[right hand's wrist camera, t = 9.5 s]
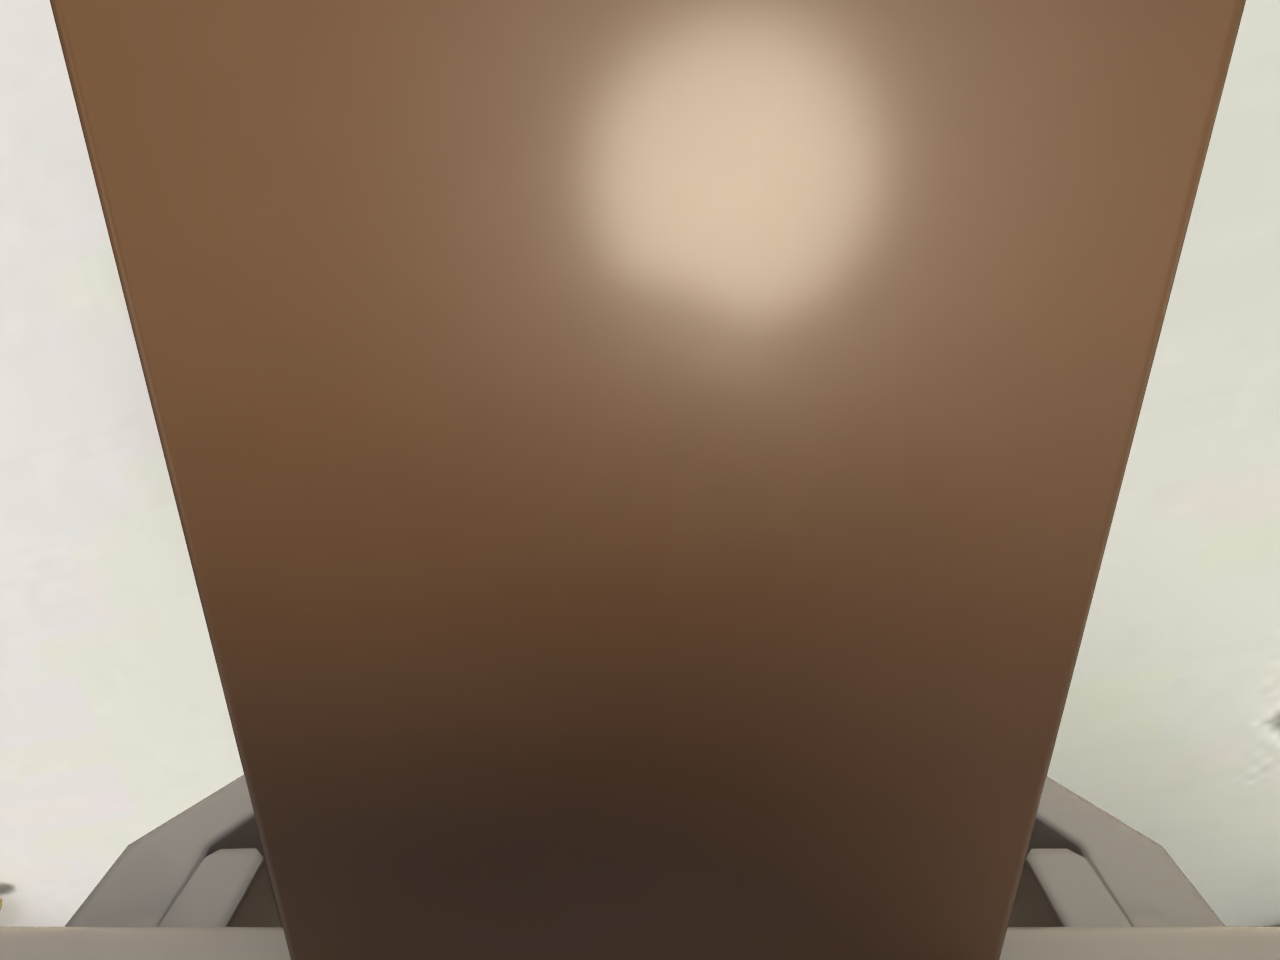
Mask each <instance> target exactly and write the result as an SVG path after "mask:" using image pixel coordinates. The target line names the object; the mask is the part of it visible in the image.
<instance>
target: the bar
mask: <svg viewBox="0 0 1280 960" xmlns="http://www.w3.org/2000/svg"><path fill="white" fill-rule="evenodd" d="M1245 2H1246V0H50V3H51V7H52V11H53V15H54V19H55V23H56V27H57V31H58V35H59V39H60V43H61V47H62V51H63V55H64V59H65V63H66V67H67V71H68V74H69V78H70V82H71V86H72V90H73V94H74V98H75V102H76V106H77V110H78V114H79V118H80V122H81V126H82V130H83V134H84V138H85V142H86V146H87V150H88V154H89V158H90V162H91V166H92V170H93V174H94V178H95V182H96V186H97V190H98V194H99V198H100V202H101V206H102V210H103V214H104V218H105V222H106V226H107V230H108V234H109V238H110V242H111V246H112V250H113V254H114V258H115V262H116V266H117V270H118V274H119V277H120V281H121V285H122V289H123V293H124V297H125V301H126V305H127V309H128V313H129V317H130V321H131V325H132V329H133V333H134V337H135V341H136V345H137V349H138V353H139V357H140V361H141V365H142V369H143V373H144V377H145V381H146V385H147V389H148V393H149V397H150V401H151V405H152V409H153V413H154V417H155V421H156V425H157V429H158V433H159V437H160V441H161V445H162V449H163V453H164V457H165V461H166V465H167V469H168V473H169V476H170V480H171V484H172V488H173V492H174V496H175V500H176V504H177V508H178V512H179V516H180V520H181V524H182V528H183V532H184V536H185V540H186V544H187V548H188V552H189V556H190V560H191V564H192V568H193V572H194V576H195V580H196V584H197V588H198V592H199V596H200V600H201V604H202V608H203V612H204V616H205V620H206V624H207V628H208V632H209V636H210V640H211V644H212V648H213V652H214V656H215V660H216V664H217V668H218V672H219V676H220V679H221V683H222V687H223V691H224V695H225V699H226V703H227V707H228V711H229V715H230V719H231V723H232V727H233V731H234V735H235V739H236V743H237V747H238V751H239V755H240V759H241V763H242V767H243V771H244V775H245V779H246V783H247V787H248V791H249V795H250V799H251V803H252V807H253V811H254V815H255V819H256V823H257V827H258V831H259V835H260V839H261V843H262V847H263V851H264V855H265V859H266V863H267V867H268V871H269V875H270V879H271V882H272V886H273V890H274V894H275V898H276V902H277V906H278V910H279V914H280V918H281V922H282V926H283V930H284V934H285V938H286V942H287V946H288V950H289V954H290V958H291V960H999V959H1000V955H1001V951H1002V947H1003V943H1004V940H1005V936H1006V932H1007V928H1008V924H1009V920H1010V916H1011V912H1012V908H1013V905H1014V901H1015V897H1016V893H1017V889H1018V885H1019V881H1020V877H1021V873H1022V870H1023V866H1024V862H1025V858H1026V854H1027V850H1028V846H1029V842H1030V838H1031V834H1032V831H1033V827H1034V823H1035V819H1036V815H1037V811H1038V807H1039V803H1040V799H1041V796H1042V792H1043V788H1044V784H1045V780H1046V776H1047V772H1048V768H1049V764H1050V761H1051V757H1052V753H1053V749H1054V745H1055V741H1056V737H1057V733H1058V729H1059V725H1060V722H1061V718H1062V714H1063V710H1064V706H1065V702H1066V698H1067V694H1068V690H1069V687H1070V683H1071V679H1072V675H1073V671H1074V667H1075V663H1076V659H1077V655H1078V652H1079V648H1080V644H1081V640H1082V636H1083V632H1084V628H1085V624H1086V620H1087V617H1088V613H1089V609H1090V605H1091V601H1092V597H1093V593H1094V589H1095V585H1096V581H1097V578H1098V574H1099V570H1100V566H1101V562H1102V558H1103V554H1104V550H1105V546H1106V543H1107V539H1108V535H1109V531H1110V527H1111V523H1112V519H1113V515H1114V511H1115V508H1116V504H1117V500H1118V496H1119V492H1120V488H1121V484H1122V480H1123V476H1124V472H1125V469H1126V465H1127V461H1128V457H1129V453H1130V449H1131V445H1132V441H1133V437H1134V434H1135V430H1136V426H1137V422H1138V418H1139V414H1140V410H1141V406H1142V402H1143V399H1144V395H1145V391H1146V387H1147V383H1148V379H1149V375H1150V371H1151V367H1152V364H1153V360H1154V356H1155V352H1156V348H1157V344H1158V340H1159V336H1160V332H1161V328H1162V325H1163V321H1164V317H1165V313H1166V309H1167V305H1168V301H1169V297H1170V293H1171V290H1172V286H1173V282H1174V278H1175V274H1176V270H1177V266H1178V262H1179V258H1180V255H1181V251H1182V247H1183V243H1184V239H1185V235H1186V231H1187V227H1188V223H1189V219H1190V216H1191V212H1192V208H1193V204H1194V200H1195V196H1196V192H1197V188H1198V184H1199V181H1200V177H1201V173H1202V169H1203V165H1204V161H1205V157H1206V153H1207V149H1208V146H1209V142H1210V138H1211V134H1212V130H1213V126H1214V122H1215V118H1216V114H1217V111H1218V107H1219V103H1220V99H1221V95H1222V91H1223V87H1224V83H1225V79H1226V75H1227V72H1228V68H1229V64H1230V60H1231V56H1232V52H1233V48H1234V44H1235V40H1236V37H1237V33H1238V29H1239V25H1240V21H1241V17H1242V13H1243V9H1244V5H1245Z"/></svg>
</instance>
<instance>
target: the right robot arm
mask: <svg viewBox="0 0 1280 960" xmlns="http://www.w3.org/2000/svg"><path fill="white" fill-rule="evenodd" d="M0 960H291V958H290V954H289V950H288V946H287V942H286V938H285V934H284V930H283V926H282V922H281V918H280V914H279V910H278V906H277V902H276V898H275V894H274V890H273V886H272V882H271V879H270V875H269V871H268V867H267V863H266V859H265V855H264V851H263V847H262V843H261V839H260V835H259V831H258V827H257V823H256V819H255V815H254V811H253V807H252V803H251V799H250V795H249V791H248V787H247V783H246V779H245V775H243V776H241V777H239V778H238V779H236V780H235V781H233V782H231V783H230V784H228V785H226V786H225V787H223V788H221V789H220V790H218V791H217V792H215V793H213V794H212V795H210V796H208V797H207V798H205V799H203V800H202V801H200V802H199V803H197V804H195V805H194V806H192V807H190V808H189V809H187V810H185V811H184V812H182V813H181V814H179V815H177V816H176V817H174V818H172V819H171V820H169V821H167V822H166V823H164V824H162V825H161V826H159V827H158V828H156V829H154V830H153V831H151V832H149V833H148V834H146V835H144V836H143V837H141V838H140V839H138V840H136V841H135V842H133V843H131V844H130V845H128V846H127V848H126V849H125V850H124V851H123V853H122V854H121V855H120V857H119V858H118V859H117V860H116V862H115V863H114V864H113V866H112V867H111V868H110V869H109V871H108V872H107V873H106V874H105V876H104V877H103V878H102V880H101V881H100V882H99V883H98V885H97V886H96V887H95V889H94V890H93V891H92V892H91V894H90V895H89V896H88V897H87V899H86V900H85V901H84V903H83V904H82V905H81V906H80V908H79V909H78V910H77V912H76V913H75V914H74V915H73V917H72V918H71V919H70V920H69V922H68V923H67V924H66V926H65V927H0ZM999 960H1280V927H1225V925H1224V924H1223V923H1222V922H1221V920H1220V919H1219V918H1218V916H1217V915H1216V914H1215V913H1214V911H1213V910H1212V909H1211V908H1210V906H1209V905H1208V904H1207V903H1206V901H1205V900H1204V899H1203V897H1202V896H1201V895H1200V894H1199V892H1198V891H1197V890H1196V889H1195V887H1194V886H1193V885H1192V884H1191V882H1190V881H1189V880H1188V879H1187V877H1186V876H1185V875H1184V873H1183V872H1182V871H1181V870H1180V868H1179V867H1178V866H1177V865H1176V863H1175V862H1174V861H1173V860H1172V858H1171V857H1170V856H1169V854H1168V853H1167V852H1166V851H1165V849H1164V848H1163V847H1162V846H1160V845H1159V844H1157V843H1155V842H1154V841H1152V840H1151V839H1149V838H1147V837H1146V836H1144V835H1142V834H1141V833H1139V832H1137V831H1136V830H1134V829H1132V828H1131V827H1129V826H1127V825H1126V824H1124V823H1123V822H1121V821H1119V820H1118V819H1116V818H1114V817H1113V816H1111V815H1109V814H1108V813H1106V812H1104V811H1103V810H1101V809H1099V808H1098V807H1096V806H1095V805H1093V804H1091V803H1090V802H1088V801H1086V800H1085V799H1083V798H1081V797H1080V796H1078V795H1076V794H1075V793H1073V792H1071V791H1070V790H1068V789H1067V788H1065V787H1063V786H1062V785H1060V784H1058V783H1057V782H1055V781H1053V780H1052V779H1050V778H1048V777H1047V776H1046V780H1045V784H1044V788H1043V792H1042V796H1041V799H1040V803H1039V807H1038V811H1037V815H1036V819H1035V823H1034V827H1033V831H1032V834H1031V838H1030V842H1029V846H1028V850H1027V854H1026V858H1025V862H1024V866H1023V870H1022V873H1021V877H1020V881H1019V885H1018V889H1017V893H1016V897H1015V901H1014V905H1013V908H1012V912H1011V916H1010V920H1009V924H1008V928H1007V932H1006V936H1005V940H1004V943H1003V947H1002V951H1001V955H1000V959H999Z"/></svg>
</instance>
